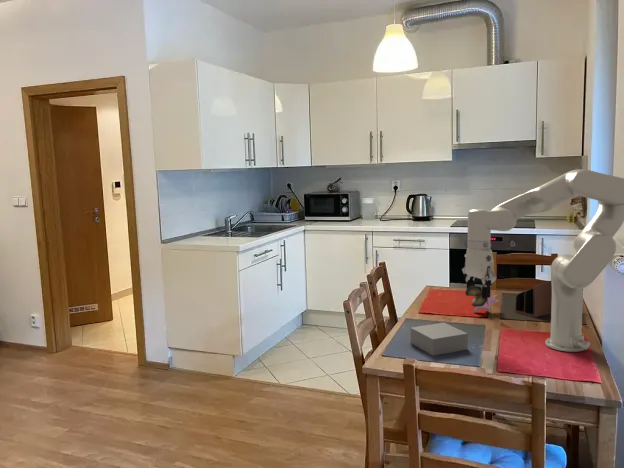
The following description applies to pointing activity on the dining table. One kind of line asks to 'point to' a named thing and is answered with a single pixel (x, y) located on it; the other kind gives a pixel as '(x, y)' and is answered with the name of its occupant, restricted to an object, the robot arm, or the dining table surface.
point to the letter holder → (535, 300)
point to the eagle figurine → (476, 296)
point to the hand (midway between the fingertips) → (478, 294)
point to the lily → (487, 304)
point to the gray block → (439, 338)
